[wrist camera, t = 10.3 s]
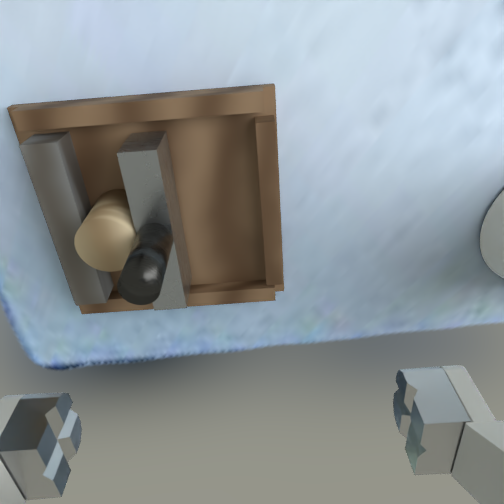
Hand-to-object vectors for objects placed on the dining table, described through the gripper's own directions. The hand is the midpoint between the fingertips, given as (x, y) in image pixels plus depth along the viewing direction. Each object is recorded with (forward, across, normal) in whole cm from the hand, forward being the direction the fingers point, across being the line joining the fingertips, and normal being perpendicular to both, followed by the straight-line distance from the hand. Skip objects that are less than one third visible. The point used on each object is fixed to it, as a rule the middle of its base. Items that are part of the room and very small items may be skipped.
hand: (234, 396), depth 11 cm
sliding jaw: (+30, +8, +9) cm, 32 cm away
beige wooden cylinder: (+30, +12, +9) cm, 34 cm away
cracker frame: (+31, +8, +9) cm, 33 cm away
